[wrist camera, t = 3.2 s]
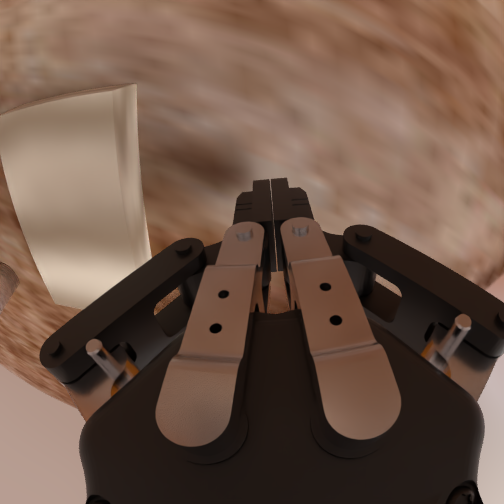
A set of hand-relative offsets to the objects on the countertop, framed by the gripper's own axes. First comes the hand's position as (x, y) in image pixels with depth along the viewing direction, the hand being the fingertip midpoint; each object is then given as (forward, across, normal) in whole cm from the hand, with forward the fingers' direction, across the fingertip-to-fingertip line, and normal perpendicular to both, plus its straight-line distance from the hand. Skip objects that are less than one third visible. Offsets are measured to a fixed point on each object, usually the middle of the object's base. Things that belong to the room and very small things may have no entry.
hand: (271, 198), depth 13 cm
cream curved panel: (+2, +11, 0) cm, 11 cm away
